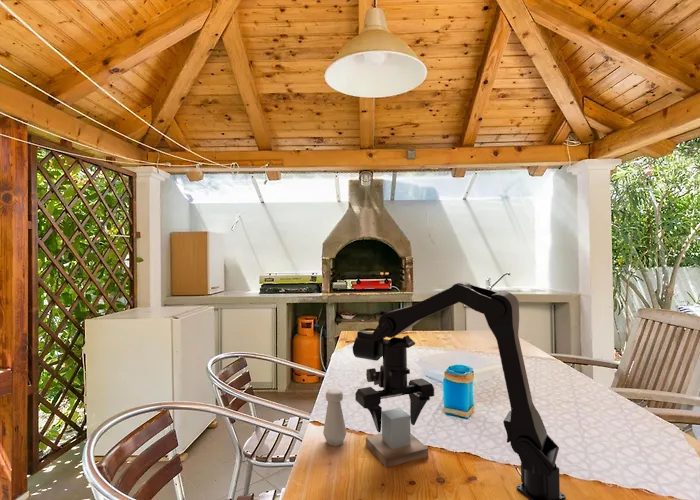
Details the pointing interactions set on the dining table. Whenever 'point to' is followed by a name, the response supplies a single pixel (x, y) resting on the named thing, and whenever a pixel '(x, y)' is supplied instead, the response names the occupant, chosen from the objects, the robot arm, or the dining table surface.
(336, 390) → the salt shaker
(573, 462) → the dining table surface
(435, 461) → the dining table surface
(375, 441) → the walnut plinth
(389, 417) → the slate block
